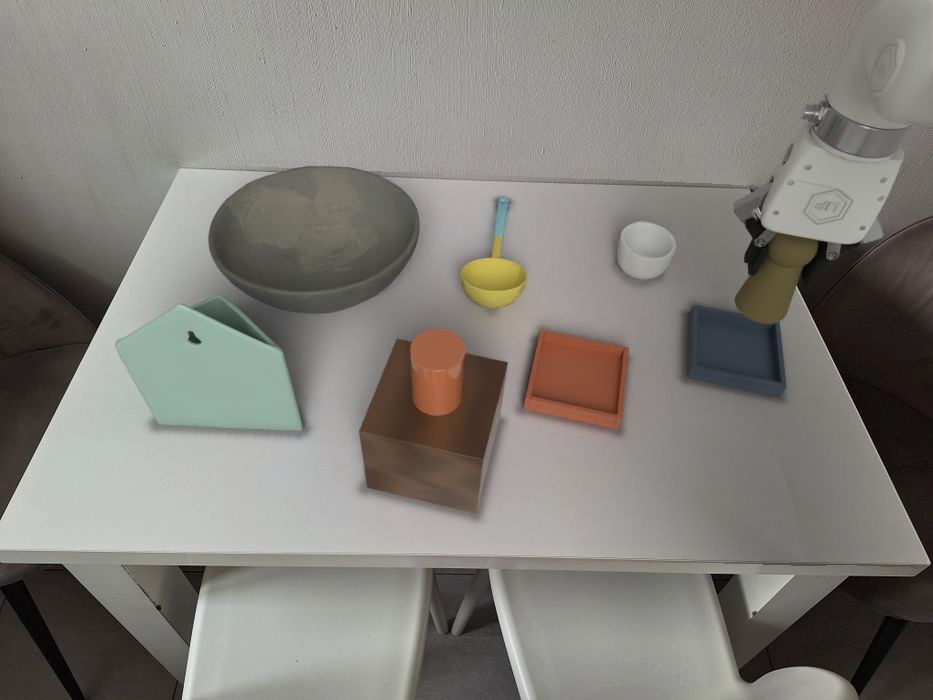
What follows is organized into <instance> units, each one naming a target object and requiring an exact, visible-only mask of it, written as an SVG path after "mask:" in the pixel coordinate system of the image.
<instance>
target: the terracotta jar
mask: <svg viewBox="0 0 933 700" xmlns="http://www.w3.org/2000/svg"><path fill="white" fill-rule="evenodd" d="M411 342H412V344H411V347H410V360H411V392H412V400H413V403H414V404H415V406H416V407H417V408H418V409H419V410H420V411H422V412H424V413H426V414H429V415H434V416H440V415H445V414H448V413H451V412H452V411H454V410H455V409H456V408H457V407H458V406H459V405H460V403H461V400H462V394H463V380H464V366H465V353H466V345H465V342H464V340H463V339H462V338H461V336H459V335H458V334H457V333H455V332H453V331H451V330H448V329H445V328H431V329H427V330H423V331H422V332H420V333H418V334H417V335H416V336H415V337H414V339H413V340H412V341H411Z"/></svg>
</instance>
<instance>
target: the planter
mask: <svg viewBox="0 0 933 700" xmlns="http://www.w3.org/2000/svg"><path fill="white" fill-rule="evenodd" d="M114 347H115V349H116V351H117V353H118V355H119V358H120V359H121V362H122V363H123V364H124V366H125V368H126V370H127V372H128V374H129V375H130V377H131V379H132V380H133V383H134V384H135V386H136V388H137V390H138V391H139V392H140V395H141V396H142V398H143V400H144V402H145V404H146V405H147V407H148V408H149V411H150V412H151V414H152V417H153V418H154V420H155V421H156V423H157V424H159V425H161V426H162V425H165V426H182V427H183V426H185V427H204V428H205V427H206V428H223V429H225V428H227V429H243V430H244V429H245V430H246V429H249V430H268V431H288V432H289V431H291V432H302V431H304V424H303V421H302V417H301V413H300V410H299V404H298V402H297V398H296V394H295V389H294V386H293V383H292V379H291V374H290V372H289V367H288V364H287V360H286V357H285V354H284V350H283V349H282V348H281V347H280V345H278V344H277V343H276V342H275V341H274V340H272V339H271V337H269V336H268V335H267V334H266V333H265V332H264V331H263V330H262V329H261V328H260V327H259V326H258V325H257V324H255V323H254V322H253V320H252V319H250V318H249V317H248V315H246V314H245V313H244V312H243V311H242V310H241V309H240V308H239V307H238V306H237V305H235V304H234V303H233V302H232V301H230V300H229V299H228V298H226V297H225V296H224V295H222V294H217V295H214V296H212V297H210V298H207V299H205V300H203V301H200V302H198V303H196V304H193V305H191V306H189V305H187V304H184V303H177V304H176V305H174V306H172V307H171V308H169V309H168V310H167V311H165V312H164V313H162V314H161V315H159V316H157V317H156V318H154V319H153V320H151V321H149V322H147V323H146V324H144V325H142V326H141V327H139V328H138V329H136V330H134V331H133V332H131V333H129V334H128V335H126V336H123V337H121V338H119V339H117V340H116V341H115V343H114Z"/></svg>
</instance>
